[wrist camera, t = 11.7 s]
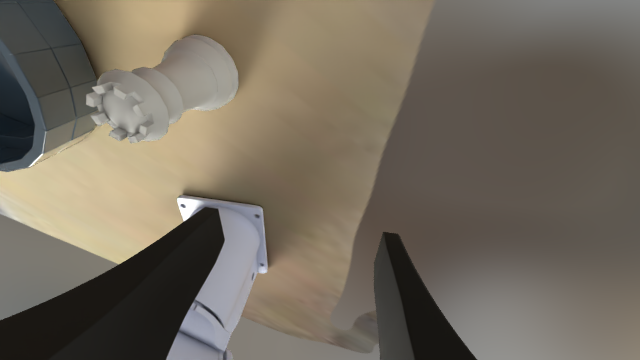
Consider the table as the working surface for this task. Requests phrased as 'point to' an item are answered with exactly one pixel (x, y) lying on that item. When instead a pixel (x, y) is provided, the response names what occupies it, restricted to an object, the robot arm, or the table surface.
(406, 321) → the robot arm
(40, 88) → the bowl
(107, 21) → the table surface
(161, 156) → the table surface
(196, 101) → the rook chess piece
